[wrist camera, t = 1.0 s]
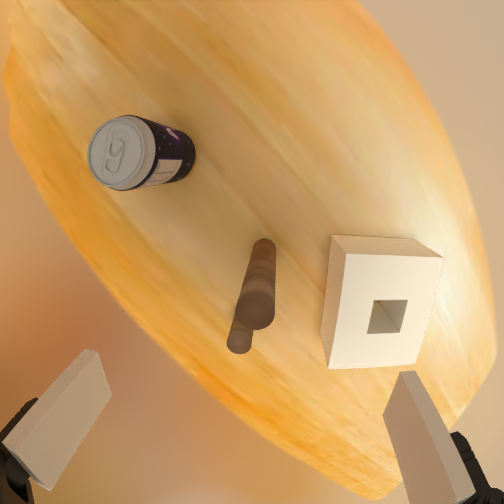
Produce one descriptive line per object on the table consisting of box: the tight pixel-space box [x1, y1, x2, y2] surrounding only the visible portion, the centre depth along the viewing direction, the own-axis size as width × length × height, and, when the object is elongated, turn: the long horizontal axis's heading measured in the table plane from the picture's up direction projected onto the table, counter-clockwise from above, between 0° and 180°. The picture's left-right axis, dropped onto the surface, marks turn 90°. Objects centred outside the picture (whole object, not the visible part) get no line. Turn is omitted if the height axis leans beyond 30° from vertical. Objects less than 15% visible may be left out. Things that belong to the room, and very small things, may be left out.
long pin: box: [235, 239, 276, 330], centre depth 24 cm, size 2×2×14 cm
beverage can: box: [87, 115, 195, 191], centre depth 23 cm, size 6×6×12 cm
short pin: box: [227, 314, 253, 354], centre depth 30 cm, size 2×2×6 cm
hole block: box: [320, 235, 444, 369], centre depth 28 cm, size 12×10×7 cm
